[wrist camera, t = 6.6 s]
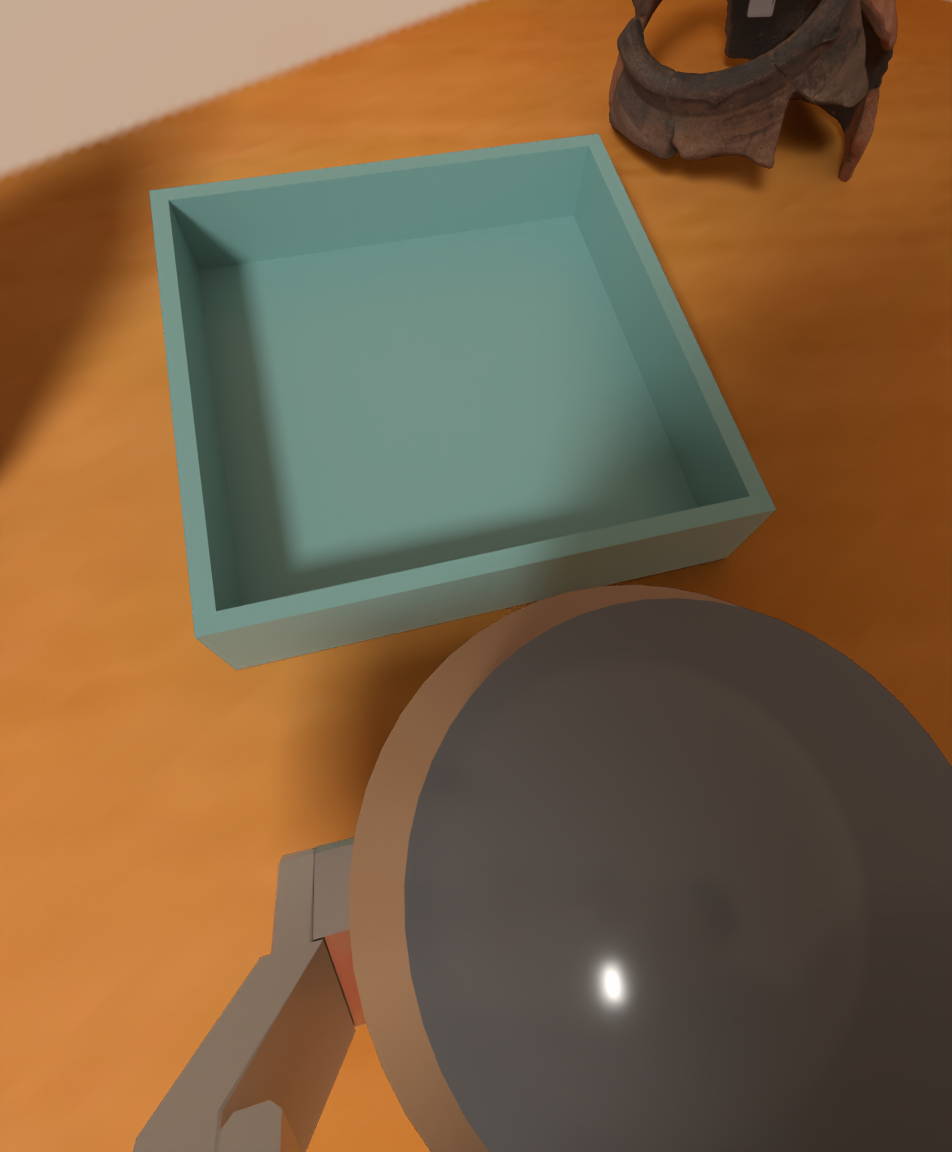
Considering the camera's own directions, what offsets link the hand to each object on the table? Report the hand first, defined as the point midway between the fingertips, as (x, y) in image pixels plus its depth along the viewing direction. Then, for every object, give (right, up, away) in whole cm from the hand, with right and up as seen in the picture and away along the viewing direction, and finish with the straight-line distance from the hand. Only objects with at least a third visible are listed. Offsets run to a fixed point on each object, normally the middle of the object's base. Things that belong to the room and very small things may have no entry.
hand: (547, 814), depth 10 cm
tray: (-2, +9, +10) cm, 14 cm away
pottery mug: (+9, +22, +16) cm, 28 cm away
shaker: (0, -3, +5) cm, 6 cm away
